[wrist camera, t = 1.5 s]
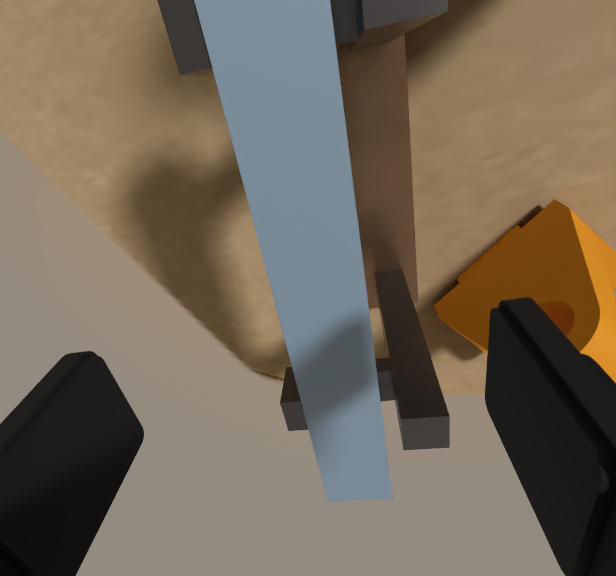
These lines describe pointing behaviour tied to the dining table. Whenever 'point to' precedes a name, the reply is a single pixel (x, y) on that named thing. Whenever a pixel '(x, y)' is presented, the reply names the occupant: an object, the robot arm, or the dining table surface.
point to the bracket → (543, 283)
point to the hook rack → (368, 193)
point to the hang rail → (305, 220)
